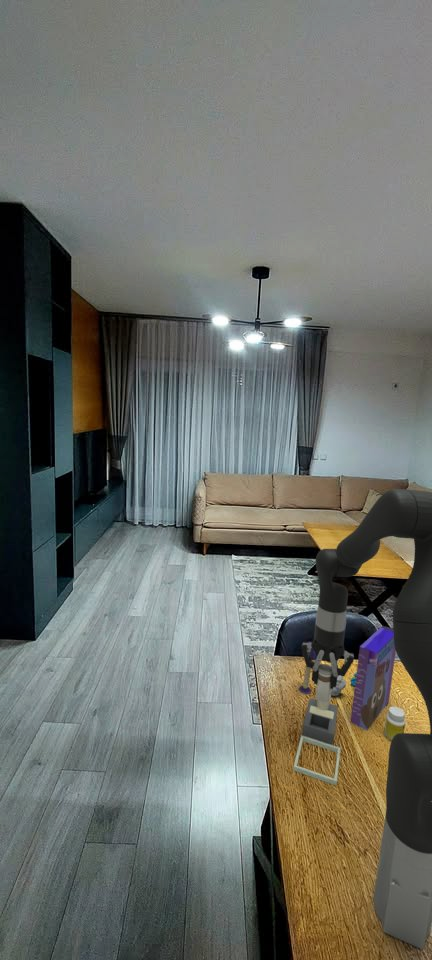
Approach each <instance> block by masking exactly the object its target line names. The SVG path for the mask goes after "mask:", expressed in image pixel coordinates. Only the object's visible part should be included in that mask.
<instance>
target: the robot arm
mask: <svg viewBox="0 0 432 960" xmlns="http://www.w3.org/2000/svg"><path fill="white" fill-rule="evenodd" d="M388 537H394V538H398V539H399V538H401V539H413V543H414V555H413V556H414V559H413V566H412V569H411V572H410V574H409V576H408V578H407V580H406V582H405V584H404V585H403V587H402V589H401V590H400V592H399V594H398V596H397V598H396V600H395V602H394V605H393V610H392V629H393V632H394V646H395V650H396V653H395V654H397V657H398V659H399V660H400V662H401V664H402V666H403V667H404V669H405V671H406V672H407V673H408V675H409V677H410V678H411V679H412V681H413V682H414V685H415V687H417V689H418V691H419V692H420V695H421V696H422V698H423V700H424V704H425V706H426V711H427V715H428V720H429V726H430V727H429V732H430V733H410V732H409V733H407V732H404V733H399V734H396V735H395V736H394V737H393V739H392V741H390V744H389V751H388V762H387V774H386V775H387V776H386V784H385V785H386V788H385V802H386V805H385V806H386V808H385V809H386V810H385V815H384V823H383V831H382V837H381V844H380V850H379V851H380V852H379V857H378V858H379V859H378V865H377V869H376V870H377V872H376V878H375V885H374V893H373V906H374V909H375V912H376V915H377V917H378V919H379V921H380V922H381V925H382V931H383V933H384V934H387V935H389V936H392V937H393V938H395V939H398V940H400V941H402V942H405V943H407V944H409V945H412V946H413V947H416V948H418V949H420V950H424V948H425V942H426V940H427V939H428V938H429V936H430V934H431V929H432V491H427V490H417V489H416V490H415V489H407V488H405V489H404V488H393V489H389V490H386V491H385V492H384V493H383V494H381V496H379V498H378V499H377V500H376V501H375V502H374V504H373V505H372V506H371V508H370V509H369V511H368V512H367V513H366V515H365V516H364V518H363V519H362V521H361V522H360V523H359V524H358V526H357V527H356V528H355V529H354V530H353V531H352V532H351V533H349V535H347V536H346V537H345V538H343V539H342V540H341V541H340V542H339V543H338V545H337V546H336V548H323V549H321V550H319V551H318V553H316V554H317V555H316V556H315V567H316V571H317V573H316V574H317V579H318V585H319V586H318V587H319V594H318V595H319V596H318V604H317V610H316V615H315V625H314V632H313V633H314V635H313V640H312V641H311V642H312V643H308V641H303V642H302V645H301V647H300V649H301V651H302V652H301V653H303V655H302V657H303V656H304V657H303V659H304V663H305V667H306V666H307V667H310V668H311V670H312V673H311V681H312V682H313V685H316V686H317V676H318V667H319V665H320V664H321V662H327V663H329V664H330V666H331V667H332V677H331V687H330V688H331V689H333V687H336V684H337V677H338V676H340V675H341V676H342V677H345V676H346V674H347V673H348V671H349V669H350V668H351V666H352V664H353V662H354V660H355V654H354V653H353V652H348V651H347V650H346V649H345V646H344V643H345V634H346V625H347V607H348V598H349V591H348V588H347V587H346V586H345V585H343V584H342V583H338V582H334V581H333V578H349V577H353V576H355V575H358V573H359V571H360V569H361V567H362V565H364V564H365V563H367V562H368V561H370V560H371V559H373V558H374V557H375V556H376V555H377V553H378V552H379V550H380V547H381V540H382V539H385V538H388ZM311 648H312V649H313V650H314V652H315V654H316V656H317V657H316V660H312V659H311V656H310V650H311ZM341 657H344V659H343V660H344V663H343V664H342V665H341V667H339V665H338V663H339V662H338V660H339V659H341Z"/></svg>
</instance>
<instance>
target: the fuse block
mask: <svg viewBox="0 0 432 960" xmlns="http://www.w3.org/2000/svg"><path fill="white" fill-rule="evenodd" d="M331 691H332V689H330V698H329V701H328V702H321V701H319V700H317V699H316V698H315V699H314V698H311V697H309V699H308V703H307V708H306V711H305V715H304V719H303V724H302V730H301V731H302V732H301V735H302V736H305V737H308V738H311V739H314V740H317V741H320V742H323V743H327V744H330V745H333V744H334V738H335V731H336V726H337V725H336V722H337V717H338V711H339V710H338V709H339V706H338V705H336V704H332V703H331V697H332V696H331ZM333 746H334V745H333Z"/></svg>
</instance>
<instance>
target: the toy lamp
mask: <svg viewBox="0 0 432 960" xmlns="http://www.w3.org/2000/svg"><path fill="white" fill-rule="evenodd" d="M307 643H312V641H307ZM301 653H302V654H301V655H302V657H303V658H304V656H303V652H301ZM310 656H311V659H312V661H315V660H316V657H317V656H316V654H315V652H314V650H313V649H312V648H311V650H310ZM311 670H312V669H311V668H310V667H307V666H306V665H305V669H304V675H303V683H302V685H300V686H299V688H298V691H299V692H300V693H301V694H304V695H309V694H311V693H312V689H311V688H310V687H309V683H310V679H311V674H312V673H311Z"/></svg>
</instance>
